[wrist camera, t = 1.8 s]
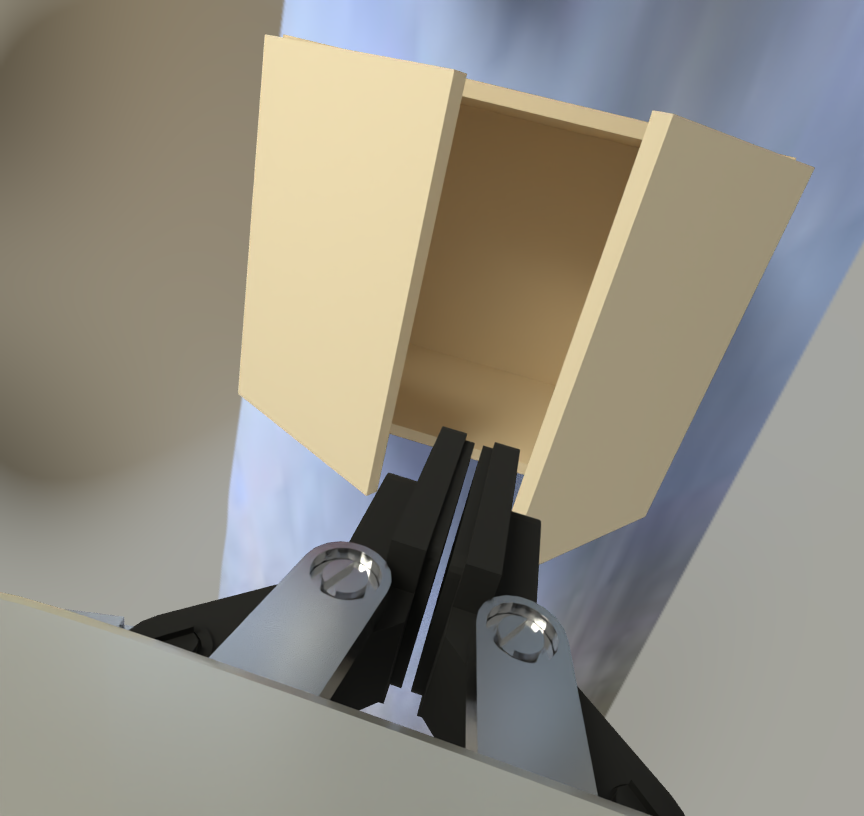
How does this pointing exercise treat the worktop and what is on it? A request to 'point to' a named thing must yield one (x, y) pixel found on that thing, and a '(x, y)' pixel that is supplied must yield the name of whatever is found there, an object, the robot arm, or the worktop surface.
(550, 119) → the carton
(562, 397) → the raised flap
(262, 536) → the worktop surface
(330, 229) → the low flap
